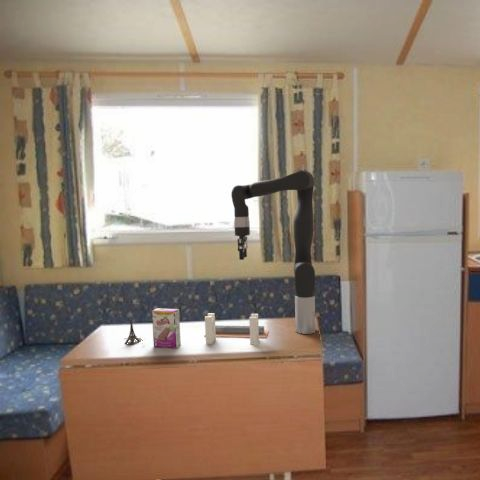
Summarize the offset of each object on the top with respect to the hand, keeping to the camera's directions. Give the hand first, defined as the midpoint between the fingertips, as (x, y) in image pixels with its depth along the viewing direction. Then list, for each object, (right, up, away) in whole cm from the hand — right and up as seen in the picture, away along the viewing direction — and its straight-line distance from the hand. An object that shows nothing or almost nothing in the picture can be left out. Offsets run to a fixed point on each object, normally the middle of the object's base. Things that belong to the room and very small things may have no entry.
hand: (243, 258), depth 203 cm
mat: (-3, -35, -10) cm, 37 cm away
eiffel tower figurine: (-50, -39, -17) cm, 66 cm away
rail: (-3, -35, -10) cm, 36 cm away
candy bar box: (-34, -38, -23) cm, 56 cm away
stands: (-5, -36, -20) cm, 42 cm away
